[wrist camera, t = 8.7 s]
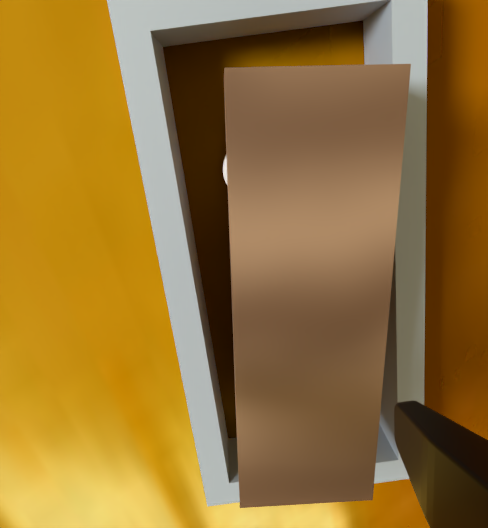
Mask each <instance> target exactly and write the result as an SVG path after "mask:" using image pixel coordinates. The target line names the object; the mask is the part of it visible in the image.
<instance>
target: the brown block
mask: <svg viewBox="0 0 488 528" xmlns="http://www.w3.org/2000/svg"><path fill="white" fill-rule="evenodd" d="M410 70H411V64H374V65H326V66H279V67H231V68H224V102H225V129H226V157H227V184H228V212H229V239H230V267H231V294H232V321H233V349H234V376H235V404H236V430H237V453H238V475H239V497H240V508H245V507H262V506H279V505H296V504H312V503H329V502H346V501H363V500H373V488H374V477H375V466H376V454H377V443H378V432H379V420H380V409H381V398H382V387H383V375H384V364H385V353H386V341H387V330H388V319H389V307H390V296H391V285H392V273H393V262H394V251H395V239H396V228H397V217H398V205H399V194H400V183H401V171H402V160H403V149H404V137H405V126H406V115H407V104H408V92H409V81H410Z"/></svg>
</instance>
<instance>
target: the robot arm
mask: <svg viewBox="0 0 488 528" xmlns="http://www.w3.org/2000/svg"><path fill="white" fill-rule="evenodd" d="M394 436H395V442H396V446H397V449H398V451H399V454H400V456H401V459H402V461H403V464H404V466H405V469H406V471H407V474H408V476H409V479H410V481H411V484H412V486H413V488H414V491H415V493H416V496H417V498H418V501H419V503H420V506H421V508H422V511H423V513H424V515H425V518H426V520H427V522H428V524H429V526H430V528H488V440H486V439H485V438H483V437H481V436H479V435H477V434H476V433H474V432H472V431H470V430H468V429H466V428H465V427H463V426H461V425H459V424H457V423H456V422H454V421H452V420H450V419H448V418H447V417H445V416H443V415H441V414H439V413H437V412H436V411H434V410H432V409H430V408H428V407H427V406H425V405H423V404H421V403H419V402H417V401H414V400H412V401H404V402H398V403H397V404H396V405H395V408H394Z"/></svg>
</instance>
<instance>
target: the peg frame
mask: <svg viewBox="0 0 488 528" xmlns="http://www.w3.org/2000/svg"><path fill="white" fill-rule="evenodd" d="M107 3H108V8H109V13H110V18H111V23H112V28H113V33H114V38H115V43H116V48H117V53H118V58H119V63H120V68H121V73H122V78H123V83H124V88H125V93H126V98H127V103H128V108H129V113H130V119H131V124H132V129H133V134H134V139H135V144H136V149H137V154H138V159H139V164H140V169H141V174H142V179H143V184H144V189H145V194H146V199H147V204H148V209H149V214H150V219H151V224H152V229H153V234H154V239H155V244H156V249H157V254H158V259H159V265H160V270H161V275H162V280H163V285H164V290H165V295H166V300H167V305H168V310H169V315H170V320H171V325H172V330H173V335H174V340H175V345H176V350H177V355H178V360H179V365H180V370H181V375H182V380H183V385H184V390H185V395H186V400H187V405H188V411H189V416H190V421H191V426H192V431H193V436H194V441H195V446H196V451H197V456H198V461H199V466H200V471H201V476H202V481H203V486H204V491H205V496H206V501H207V506H214V505H221V504H229V503H236V502H240V497H239V475H238V453H237V437H236V438H228V434H227V428H226V422H225V416H224V410H223V404H222V398H221V392H220V386H219V380H218V374H217V368H216V362H215V356H214V350H213V344H212V338H211V332H210V326H209V320H208V314H207V308H206V302H205V296H204V290H203V285H202V279H201V273H200V267H199V261H198V255H197V249H196V243H195V237H194V231H193V225H192V219H191V213H190V207H189V201H188V195H187V189H186V183H185V177H184V171H183V165H182V159H181V153H180V147H179V141H178V135H177V129H176V124H175V118H174V112H173V106H172V100H171V94H170V88H169V82H168V76H167V70H166V64H165V58H164V52H163V47H166V46H173V45H181V44H188V43H196V42H204V41H211V40H219V39H226V38H234V37H242V36H249V35H257V34H264V33H272V32H280V31H287V30H295V29H302V28H310V27H318V26H325V25H333V24H340V23H348V22H356V21H363V32H364V61H365V65H374V64H411V70H410V81H409V92H408V104H407V115H406V126H405V137H404V149H403V160H402V171H401V183H400V194H399V205H398V217H397V228H396V239H395V251H394V262H393V273H392V285H391V296H390V307H389V319H388V330H387V341H386V353H385V364H384V375H383V387H382V398H381V409H380V420H379V432H378V443H377V454H376V466H375V477H374V483H381V482H388V481H395V480H403V479H409V476H408V474H407V471H406V469H405V466H404V464H403V461H402V459H401V456H400V454H399V451H398V449H397V446H396V442H395V436H394V408H395V405H396V404H397V403H398V402H404V401H412V400H414V401H417V402H419V403H421V404H423V405H424V369H425V252H426V134H427V16H428V0H107ZM223 176H224V180H225V182H226V184H227V157H226V155H225V157H224V161H223ZM227 186H228V184H227Z"/></svg>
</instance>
